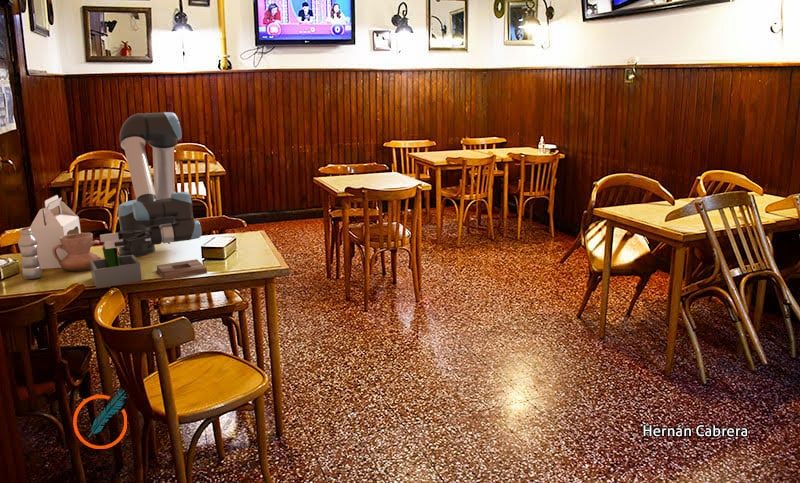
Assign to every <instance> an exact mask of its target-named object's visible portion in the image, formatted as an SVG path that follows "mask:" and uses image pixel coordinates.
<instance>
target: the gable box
mask: <svg viewBox="0 0 800 483" xmlns="http://www.w3.org/2000/svg"><path fill="white" fill-rule="evenodd" d="M29 228H31V232H32V233H31V235H32V236H34V237H35V238H36V240H37V253H38V254H37V255H38V260H39V264H40V267H41V270H44V269H45V270H46V269H61V268H62V267H61V266H60V264H59V262H58V261H57V259H56V258H55V257H54V255H53V252H52V249H53V247H54V246H55V245H58V244H60V245H62V244H61V241H60V237H61V236H65V235H70V234H78V233H82V232H81V224H80V217H79V216H78V215H77V214H76V213H75V212H74V211H73V210H72V209H71V208H70V207H69V206H68V205H67V204H66V203H65V202H64V201H62V196H61V197H59V195H58V194H55V195H53V196H51V197H49V198H47V199H45V200H44V201H43V208H41V209H39V211H38V212H37V214H36V216H35V217H34V219H33V221H32V223H31V225H30V226H29ZM56 253H57V255H58V257H59V259H60V260H61V261H62V260H63V259H64V258H65V257H66V256H67V255H68V254H67V252H66V251H65V250H63V249H61V248H57V249H56ZM62 269H63V268H62Z"/></svg>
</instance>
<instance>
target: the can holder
mask: <svg viewBox="0 0 800 483" xmlns="http://www.w3.org/2000/svg"><path fill="white" fill-rule="evenodd" d="M156 269H157V271H158V272H159V274H160V275H161V276H162V277H163V279H164V280H170V279H176V278H182V277H188V276H194V275H195V276H196V275H201V274H207V273H208V271H207V270H208V269H207V266H205V264H203V263H202V262H200V260H198V259H197V258H195V259H188V260H181V261H176V262H170V263H169V262H167V263H163V264H156Z"/></svg>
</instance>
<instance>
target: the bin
mask: <svg viewBox="0 0 800 483" xmlns="http://www.w3.org/2000/svg"><path fill="white" fill-rule="evenodd" d="M119 256H120V260H121V266H115V267H108V268H107V266H106V262H105V258H101V259H99V260H92V261H90V266H91V269H90V271H91V277H92V280H93V283H94V285H95V287H96V289H101V288H107V287H112V286H113V287H114V286H119V285H125V284H131V283H137V282H142V281H143V278H142V277H143V276H142V269H141V263H140V262H139V260H138V259H137V257H136V256H134V255H127V256H121V255H119Z"/></svg>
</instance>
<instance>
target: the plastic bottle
mask: <svg viewBox="0 0 800 483" xmlns="http://www.w3.org/2000/svg"><path fill="white" fill-rule="evenodd" d="M19 233H20V235H21V236H20V237H19V239H18V243H17V244H18V248H19V251H20V255H21V259H22V275H23V278H24V279H25V280H35V279H38V278H41V277H42V274H43V269H41V267H40V264H39V260H38V255H37V254H38V253H37V240H36V238H35V237H34V236H32V235H31V233H32V232H31V228H30V227H26V228H25V227H24V228H20V230H19Z"/></svg>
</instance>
